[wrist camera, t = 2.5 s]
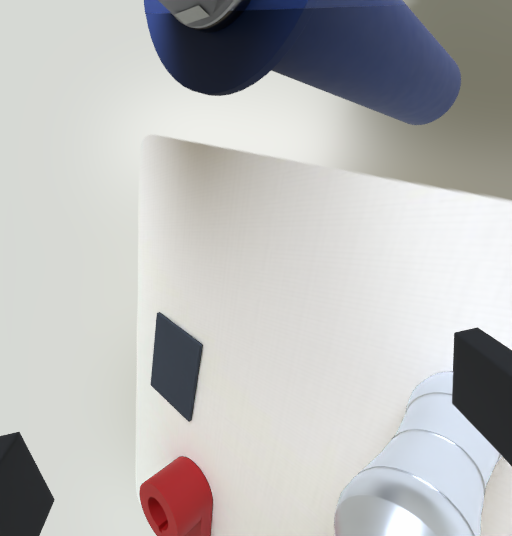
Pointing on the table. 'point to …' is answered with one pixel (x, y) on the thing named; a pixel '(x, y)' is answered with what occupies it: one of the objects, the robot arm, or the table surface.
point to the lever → (178, 500)
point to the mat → (175, 365)
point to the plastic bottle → (422, 473)
